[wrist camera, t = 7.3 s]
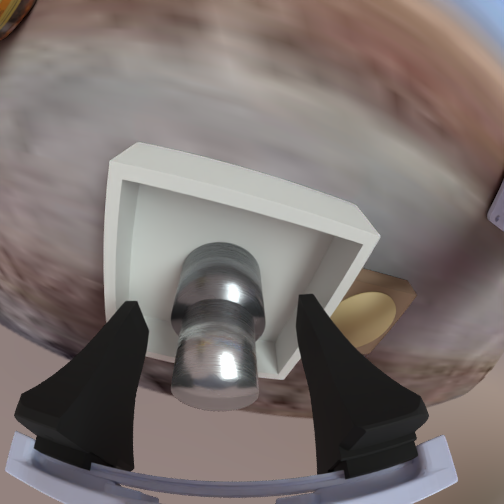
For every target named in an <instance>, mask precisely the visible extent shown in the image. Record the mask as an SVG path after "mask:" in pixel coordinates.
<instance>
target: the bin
mask: <svg viewBox="0 0 504 504" xmlns="http://www.w3.org/2000/svg"><path fill="white" fill-rule="evenodd" d="M380 237H381V236H380V235H379V233H378V232H377V231H376V230H375V228H374V227H373V226H372V224H371V223H370V222H369V221H368V219H367V218H366V217H365V216H364V214H363V213H362V212H361V211H360V209H359V208H358V207H357V206H356V205H355V204H353V203H350V202H348V201H345V200H342V199H339V198H337V197H334V196H331V195H328V194H325V193H323V192H320V191H317V190H314V189H311V188H308V187H305V186H302V185H299V184H296V183H293V182H290V181H287V180H284V179H281V178H277V177H274V176H271V175H268V174H264V173H261V172H258V171H254V170H251V169H247V168H244V167H240V166H237V165H233V164H230V163H226V162H222V161H218V160H215V159H211V158H207V157H203V156H199V155H195V154H191V153H187V152H182V151H178V150H174V149H169V148H165V147H160V146H156V145H151V144H146V143H141V142H137V143H135V144H134V145H132V146H131V147H129V148H128V149H126V150H125V151H123V152H122V153H120V154H119V155H118V156H116V157H115V158H113V159H112V160H110V163H109V172H108V181H107V191H106V204H105V221H104V296H105V313H106V323H107V322H108V321H109V320H110V318H111V317H112V316H113V315H114V314H115V312H116V311H117V310H118V309H119V308H120V306H121V305H122V304H123V303H124V302H125V301H137V302H138V304H139V307H140V309H141V312H142V314H143V317H144V319H145V322H146V324H147V326H148V329H149V337H148V345H147V351H146V355H145V356H146V357H151V358H155V359H159V360H163V361H167V362H172V363H175V357H176V351H177V345H178V339H179V336H178V335H177V334H176V333H175V331H174V329H173V327H172V324H171V313H172V309H173V304H174V300H175V295H176V291H177V287H178V283H179V279H180V275H181V271H182V267H183V263H184V261H185V259H186V257H187V256H188V255H189V254H190V253H191V252H192V251H193V250H194V249H196V248H198V247H200V246H202V245H204V244H208V243H213V242H226V243H232V244H235V245H238V246H240V247H242V248H244V249H246V250H247V251H248V252H250V253H251V254H252V255H253V257H254V258H255V259H256V261H257V262H258V265H259V268H260V274H261V283H262V292H263V301H264V311H265V320H266V325H265V329H264V332H263V334H262V335H261V337H260V338H259V339H258V340H257V341H256V357H257V372H258V377H261V378H269V379H279V380H284V379H285V377H286V376H287V375H288V374H289V372H290V371H291V370H292V369H293V367H294V366H295V365H296V363H297V362H298V361H299V360H300V358H301V355H300V351H299V347H298V341H297V333H296V317H297V307H298V297H299V295H300V294H314V295H315V297H316V298H317V300H318V301H319V303H320V304H321V306H322V307H323V309H324V310H325V312H326V313H327V314H328V316H329V317H331V315H332V314H333V312H334V311H335V309H336V308H337V306H338V305H339V303H340V302H341V300H342V299H343V297H344V296H345V294H346V293H347V291H348V290H349V288H350V287H351V285H352V283H353V282H354V280H355V279H356V277H357V275H358V274H359V272H360V271H361V269H362V267H363V266H364V264H365V262H366V261H367V259H368V257H369V256H370V254H371V252H372V251H373V249H374V247H375V246H376V244H377V242H378V240H379V239H380Z"/></svg>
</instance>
